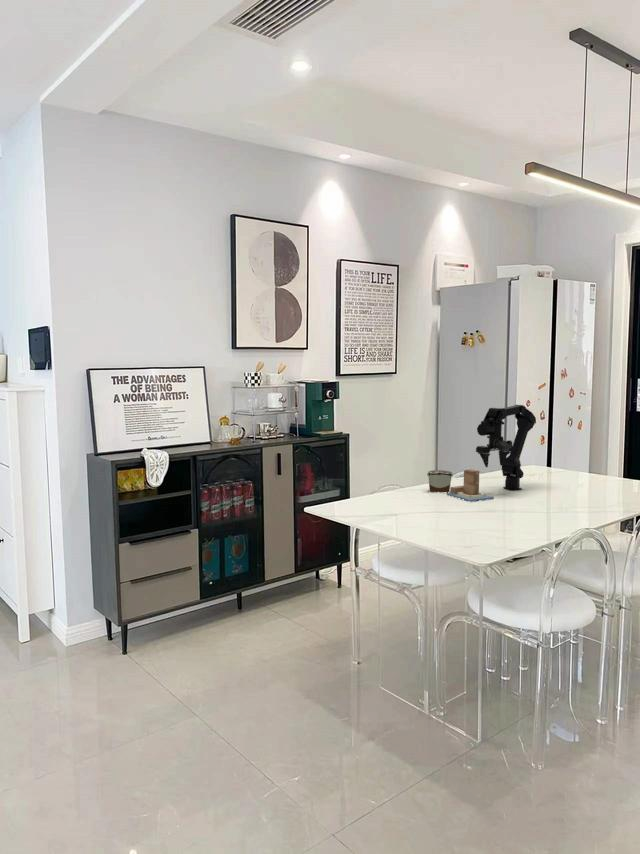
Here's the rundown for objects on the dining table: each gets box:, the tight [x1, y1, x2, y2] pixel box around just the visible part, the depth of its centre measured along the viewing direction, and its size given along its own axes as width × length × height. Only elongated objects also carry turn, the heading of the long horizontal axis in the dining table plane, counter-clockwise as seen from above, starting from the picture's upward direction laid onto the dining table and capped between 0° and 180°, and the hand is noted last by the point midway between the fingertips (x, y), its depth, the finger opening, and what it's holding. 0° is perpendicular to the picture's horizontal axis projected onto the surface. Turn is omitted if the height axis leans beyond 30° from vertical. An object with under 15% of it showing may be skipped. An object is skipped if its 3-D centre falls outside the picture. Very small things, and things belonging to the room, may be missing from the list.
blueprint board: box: [446, 485, 495, 502], centre depth 322 cm, size 14×17×4 cm
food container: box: [427, 469, 453, 493], centre depth 334 cm, size 12×6×10 cm, turn 84°
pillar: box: [463, 469, 480, 496], centre depth 319 cm, size 5×5×12 cm
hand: (494, 466), depth 329 cm, fingers open, 9 cm apart
